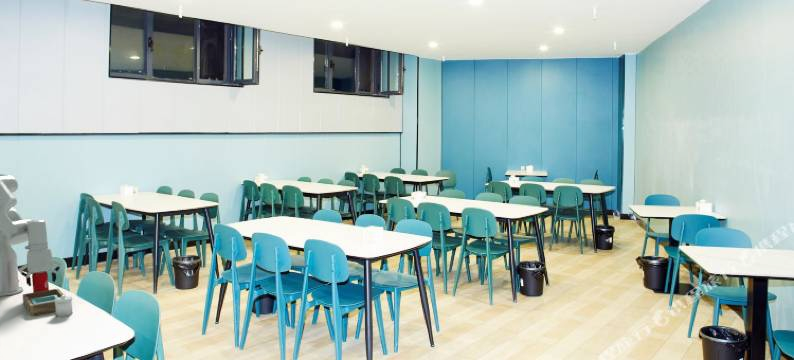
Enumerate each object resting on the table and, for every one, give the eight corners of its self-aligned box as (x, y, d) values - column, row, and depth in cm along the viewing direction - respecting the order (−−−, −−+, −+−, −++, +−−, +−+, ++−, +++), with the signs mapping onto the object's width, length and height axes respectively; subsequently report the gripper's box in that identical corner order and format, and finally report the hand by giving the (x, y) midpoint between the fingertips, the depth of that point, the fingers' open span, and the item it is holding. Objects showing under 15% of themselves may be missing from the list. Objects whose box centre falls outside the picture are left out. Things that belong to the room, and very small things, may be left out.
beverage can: (52, 294, 277) (50, 269, 276) (43, 298, 271) (41, 272, 270) (39, 294, 278) (38, 269, 276) (30, 298, 271) (28, 272, 270)
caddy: (23, 304, 263) (22, 294, 262) (59, 298, 271) (58, 288, 271) (31, 316, 246) (30, 305, 245) (69, 309, 254) (68, 299, 254)
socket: (30, 304, 259) (30, 299, 259) (56, 300, 265) (56, 294, 265) (34, 310, 251) (33, 304, 251) (60, 305, 258) (60, 299, 257)
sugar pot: (57, 312, 250) (56, 293, 249) (75, 311, 252) (73, 292, 251) (53, 317, 244) (51, 298, 243) (70, 316, 245) (69, 296, 245)
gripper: (17, 251, 263) (21, 288, 265) (61, 245, 274) (64, 281, 276) (15, 249, 269) (18, 285, 271) (58, 243, 280) (61, 278, 282)
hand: (41, 283), depth 273 cm, fingers open, 9 cm apart
